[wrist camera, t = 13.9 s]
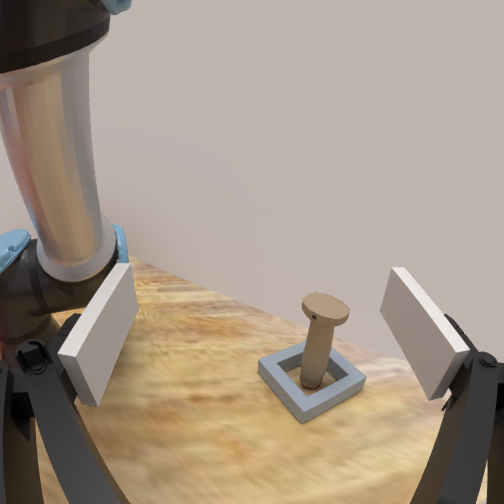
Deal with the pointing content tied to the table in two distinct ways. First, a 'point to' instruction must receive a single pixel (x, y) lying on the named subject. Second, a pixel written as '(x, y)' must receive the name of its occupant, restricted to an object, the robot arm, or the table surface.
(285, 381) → the socket block
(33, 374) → the robot arm
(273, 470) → the table surface
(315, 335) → the handle
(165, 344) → the table surface
